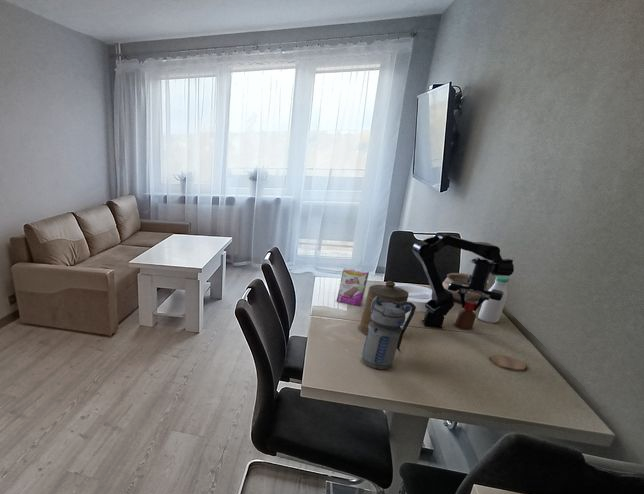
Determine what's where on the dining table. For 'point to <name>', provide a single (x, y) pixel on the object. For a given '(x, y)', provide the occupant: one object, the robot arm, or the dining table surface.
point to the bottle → (465, 319)
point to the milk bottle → (494, 302)
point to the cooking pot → (463, 279)
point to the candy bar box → (352, 286)
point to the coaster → (508, 363)
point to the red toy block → (470, 305)
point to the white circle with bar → (416, 295)
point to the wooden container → (384, 294)
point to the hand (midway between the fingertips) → (468, 309)
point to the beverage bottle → (385, 332)
